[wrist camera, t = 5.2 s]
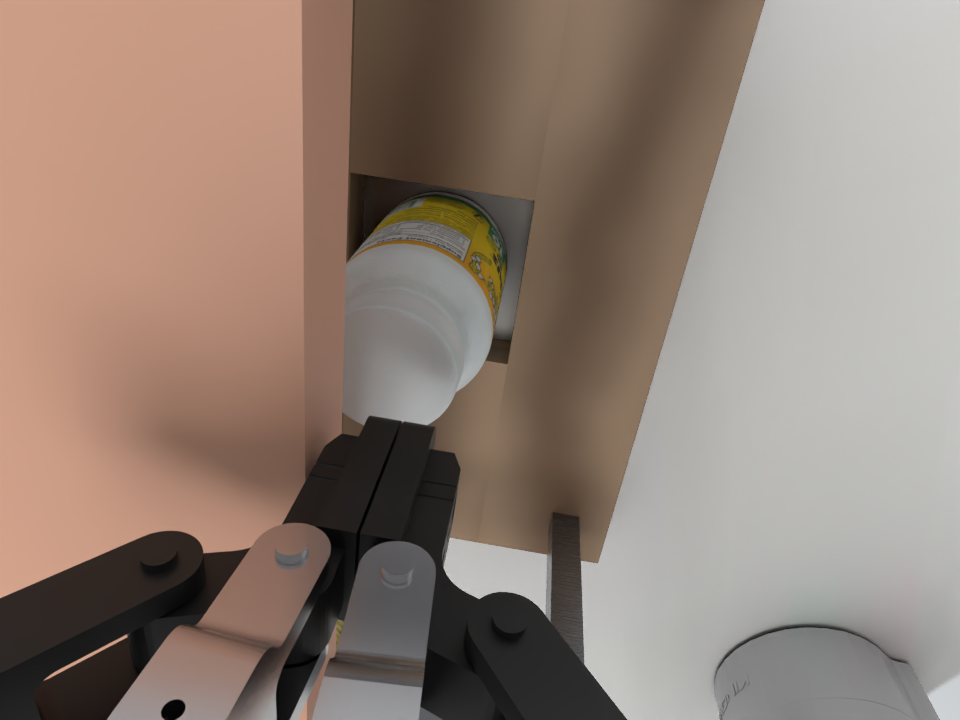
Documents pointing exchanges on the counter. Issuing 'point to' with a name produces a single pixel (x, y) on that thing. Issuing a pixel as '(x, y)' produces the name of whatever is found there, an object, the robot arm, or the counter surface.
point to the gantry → (560, 585)
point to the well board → (554, 217)
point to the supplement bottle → (420, 308)
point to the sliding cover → (167, 271)
